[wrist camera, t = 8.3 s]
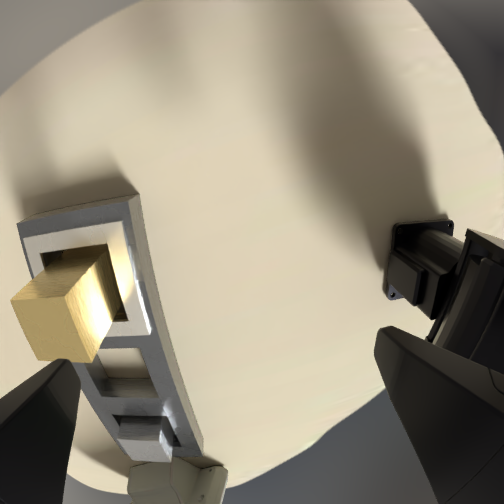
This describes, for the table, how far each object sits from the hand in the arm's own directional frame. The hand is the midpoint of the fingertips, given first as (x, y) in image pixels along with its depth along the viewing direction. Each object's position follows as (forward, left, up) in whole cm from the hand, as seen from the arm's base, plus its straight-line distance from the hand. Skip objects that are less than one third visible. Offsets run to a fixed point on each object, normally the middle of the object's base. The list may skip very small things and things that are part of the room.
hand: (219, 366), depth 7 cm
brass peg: (+9, +2, -13) cm, 16 cm away
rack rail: (+9, +10, -13) cm, 19 cm away
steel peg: (+9, +18, -13) cm, 24 cm away
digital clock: (+11, +33, -13) cm, 37 cm away
